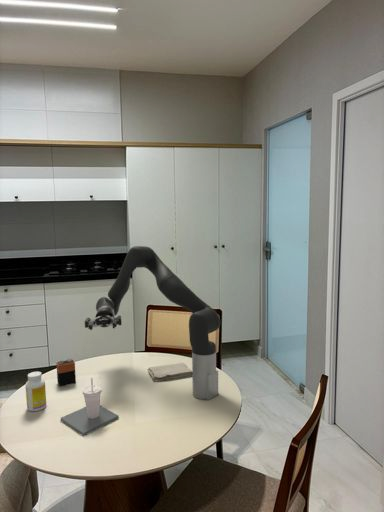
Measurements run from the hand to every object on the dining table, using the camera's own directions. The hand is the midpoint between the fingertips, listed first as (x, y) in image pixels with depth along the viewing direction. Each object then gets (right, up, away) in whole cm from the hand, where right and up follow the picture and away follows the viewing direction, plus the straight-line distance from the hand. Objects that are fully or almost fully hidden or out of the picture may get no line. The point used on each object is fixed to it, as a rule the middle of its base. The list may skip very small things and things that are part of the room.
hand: (102, 326), depth 151 cm
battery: (-18, -26, +14) cm, 34 cm away
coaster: (-1, -29, -15) cm, 33 cm away
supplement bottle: (-23, -29, -6) cm, 37 cm away
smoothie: (0, -28, -15) cm, 32 cm away
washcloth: (+25, -25, +21) cm, 41 cm away
